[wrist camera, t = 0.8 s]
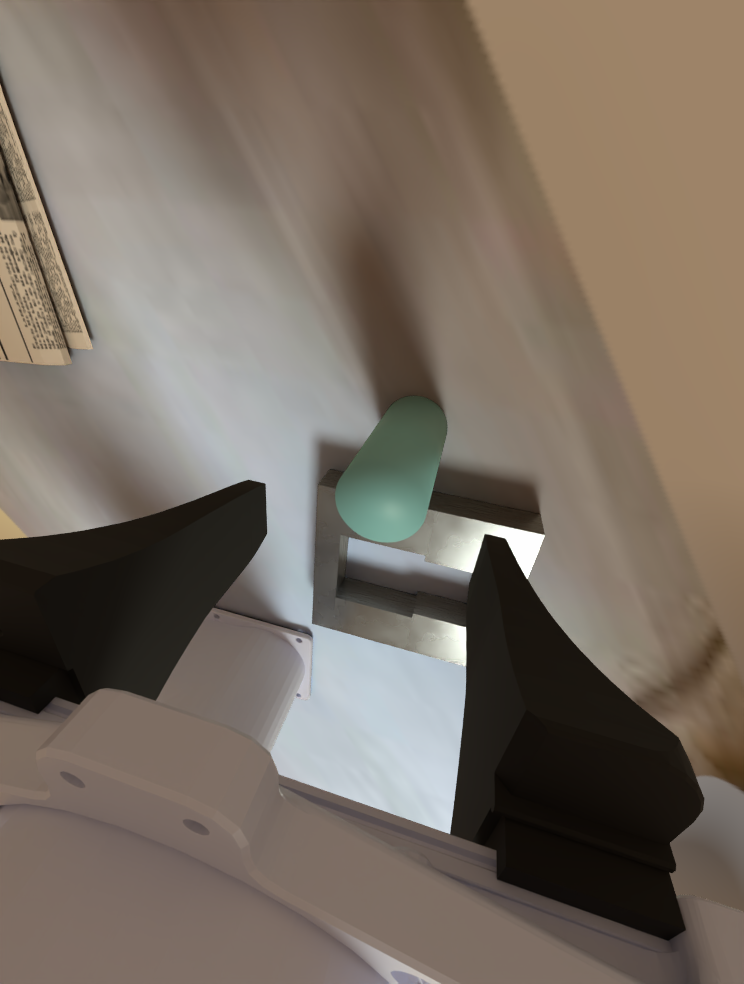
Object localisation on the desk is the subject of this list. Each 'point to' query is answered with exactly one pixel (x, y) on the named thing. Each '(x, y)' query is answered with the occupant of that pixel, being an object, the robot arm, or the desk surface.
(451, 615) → the keyhole plate
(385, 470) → the peg
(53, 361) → the newspaper
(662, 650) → the desk surface
